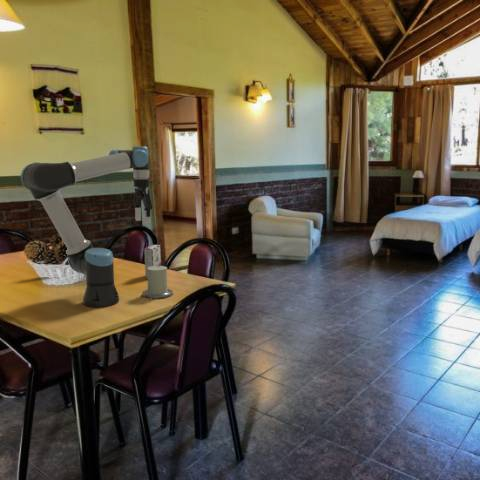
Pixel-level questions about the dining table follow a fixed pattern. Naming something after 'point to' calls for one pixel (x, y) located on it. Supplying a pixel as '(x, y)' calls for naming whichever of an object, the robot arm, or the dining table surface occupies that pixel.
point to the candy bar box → (152, 257)
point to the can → (157, 280)
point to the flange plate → (150, 296)
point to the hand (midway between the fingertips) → (143, 222)
